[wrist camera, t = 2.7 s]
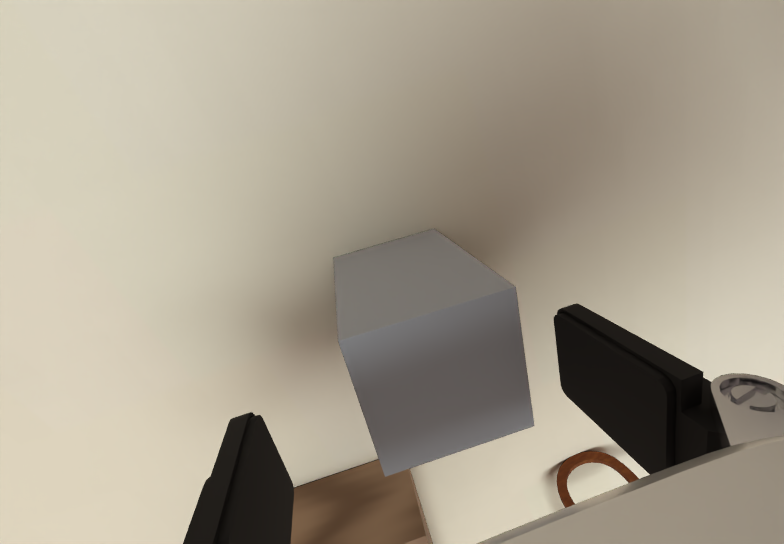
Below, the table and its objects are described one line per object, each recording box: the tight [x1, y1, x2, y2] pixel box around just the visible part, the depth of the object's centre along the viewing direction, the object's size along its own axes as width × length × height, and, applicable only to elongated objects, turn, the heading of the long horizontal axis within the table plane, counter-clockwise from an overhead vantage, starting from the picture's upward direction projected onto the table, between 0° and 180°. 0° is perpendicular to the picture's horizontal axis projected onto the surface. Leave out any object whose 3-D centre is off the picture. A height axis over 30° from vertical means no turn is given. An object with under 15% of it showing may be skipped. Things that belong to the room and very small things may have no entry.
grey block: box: [333, 229, 534, 477], centre depth 14 cm, size 5×5×8 cm
